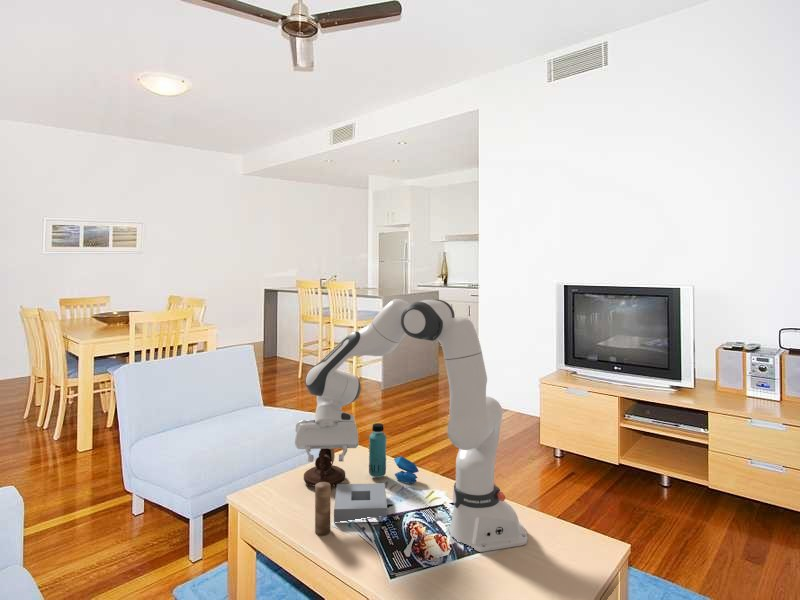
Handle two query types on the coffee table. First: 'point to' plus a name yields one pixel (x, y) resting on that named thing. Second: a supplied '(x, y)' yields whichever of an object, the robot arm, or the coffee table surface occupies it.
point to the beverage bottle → (377, 451)
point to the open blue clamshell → (407, 466)
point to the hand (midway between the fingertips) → (325, 461)
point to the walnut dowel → (322, 508)
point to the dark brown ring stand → (324, 470)
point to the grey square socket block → (359, 501)
